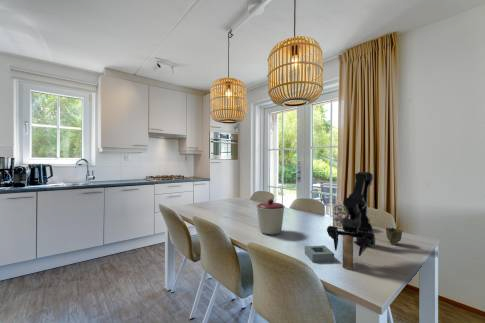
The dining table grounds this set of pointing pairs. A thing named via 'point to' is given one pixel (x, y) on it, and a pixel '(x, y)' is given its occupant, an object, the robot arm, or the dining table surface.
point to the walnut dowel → (347, 252)
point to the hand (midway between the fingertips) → (347, 252)
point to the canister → (270, 217)
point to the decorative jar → (338, 214)
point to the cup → (393, 235)
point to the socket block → (319, 254)
